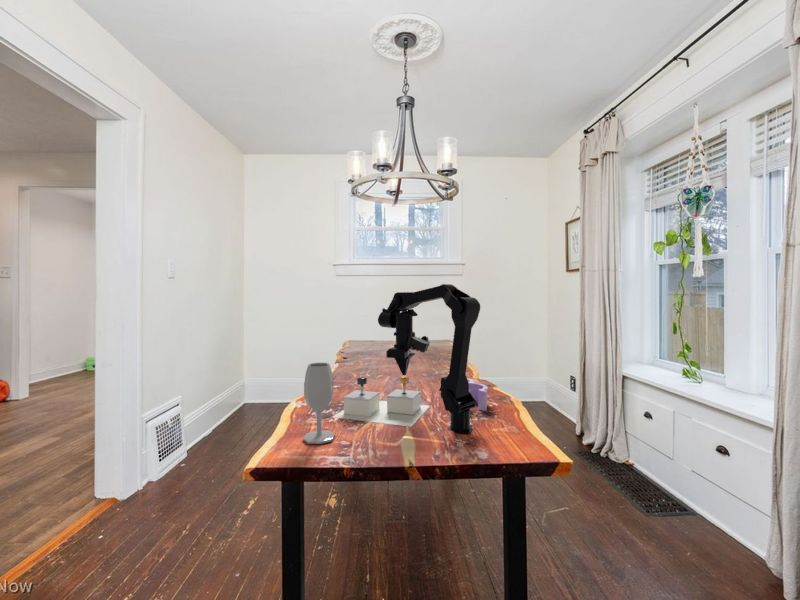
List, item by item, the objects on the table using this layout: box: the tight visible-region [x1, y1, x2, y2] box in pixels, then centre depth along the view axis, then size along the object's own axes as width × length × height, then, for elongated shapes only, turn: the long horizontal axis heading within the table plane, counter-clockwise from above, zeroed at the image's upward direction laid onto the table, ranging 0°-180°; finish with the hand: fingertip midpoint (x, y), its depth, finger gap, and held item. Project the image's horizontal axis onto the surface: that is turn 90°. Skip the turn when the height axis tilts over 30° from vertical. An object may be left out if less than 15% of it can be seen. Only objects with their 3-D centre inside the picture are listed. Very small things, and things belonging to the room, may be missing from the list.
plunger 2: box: [399, 375, 410, 394], centre depth 130 cm, size 7×7×7 cm
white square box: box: [386, 388, 422, 416], centre depth 131 cm, size 10×9×6 cm
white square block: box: [343, 389, 380, 417], centre depth 130 cm, size 10×9×6 cm
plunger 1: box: [356, 376, 368, 396], centre depth 129 cm, size 7×7×7 cm
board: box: [332, 400, 430, 428], centre depth 130 cm, size 22×27×1 cm
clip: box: [458, 378, 488, 412], centre depth 141 cm, size 20×12×7 cm, turn 7°
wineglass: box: [303, 362, 336, 445], centre depth 107 cm, size 9×9×21 cm
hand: (404, 374), depth 130 cm, fingers closed
